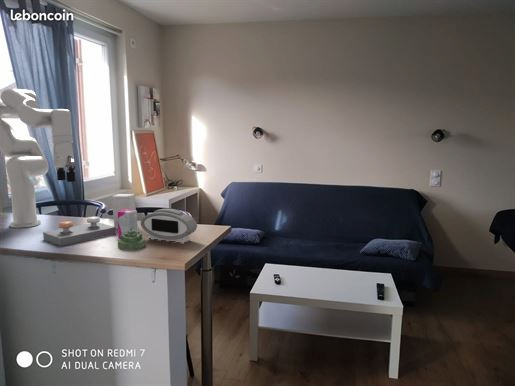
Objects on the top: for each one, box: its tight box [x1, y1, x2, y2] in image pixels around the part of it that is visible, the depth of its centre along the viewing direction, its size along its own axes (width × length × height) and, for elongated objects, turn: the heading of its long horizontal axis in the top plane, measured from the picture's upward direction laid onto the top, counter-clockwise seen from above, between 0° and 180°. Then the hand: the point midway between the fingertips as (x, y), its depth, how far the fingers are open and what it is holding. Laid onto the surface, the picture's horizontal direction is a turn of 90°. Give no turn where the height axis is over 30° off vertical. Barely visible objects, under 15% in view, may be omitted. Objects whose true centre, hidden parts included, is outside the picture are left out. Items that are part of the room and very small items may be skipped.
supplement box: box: [117, 210, 139, 240], centre depth 171 cm, size 6×6×12 cm
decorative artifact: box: [117, 229, 146, 251], centre depth 160 cm, size 10×7×10 cm
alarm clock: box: [140, 208, 198, 244], centre depth 169 cm, size 23×6×13 cm, turn 68°
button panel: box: [42, 222, 117, 247], centre depth 172 cm, size 14×24×3 cm, turn 142°
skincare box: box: [111, 193, 136, 231], centre depth 185 cm, size 8×7×16 cm
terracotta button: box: [58, 220, 74, 234], centre depth 167 cm, size 5×5×5 cm
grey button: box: [86, 216, 101, 229], centre depth 176 cm, size 5×5×5 cm
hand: (66, 180), depth 173 cm, fingers open, 9 cm apart
